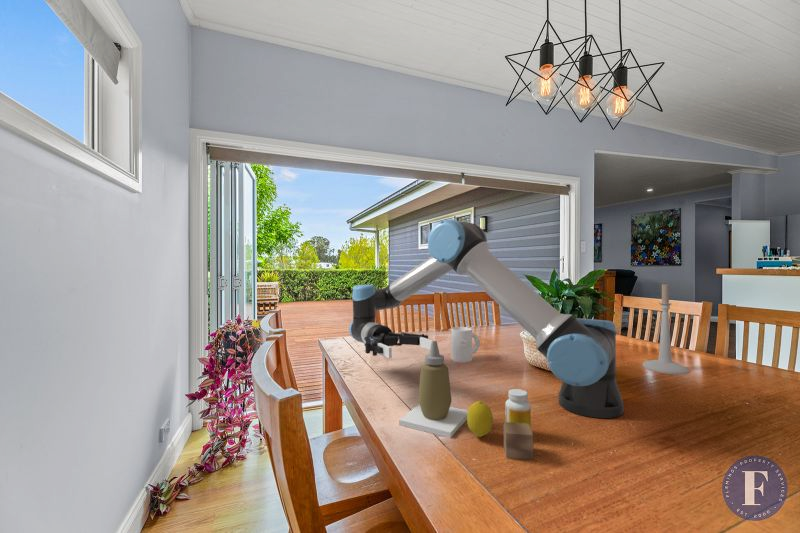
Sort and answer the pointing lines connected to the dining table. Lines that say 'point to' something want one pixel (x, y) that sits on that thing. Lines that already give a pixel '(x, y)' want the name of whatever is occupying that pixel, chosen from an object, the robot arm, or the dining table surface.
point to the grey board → (435, 421)
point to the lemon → (479, 418)
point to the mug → (463, 344)
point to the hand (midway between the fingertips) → (412, 349)
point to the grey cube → (518, 441)
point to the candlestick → (665, 343)
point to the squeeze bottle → (434, 385)
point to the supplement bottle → (518, 407)
